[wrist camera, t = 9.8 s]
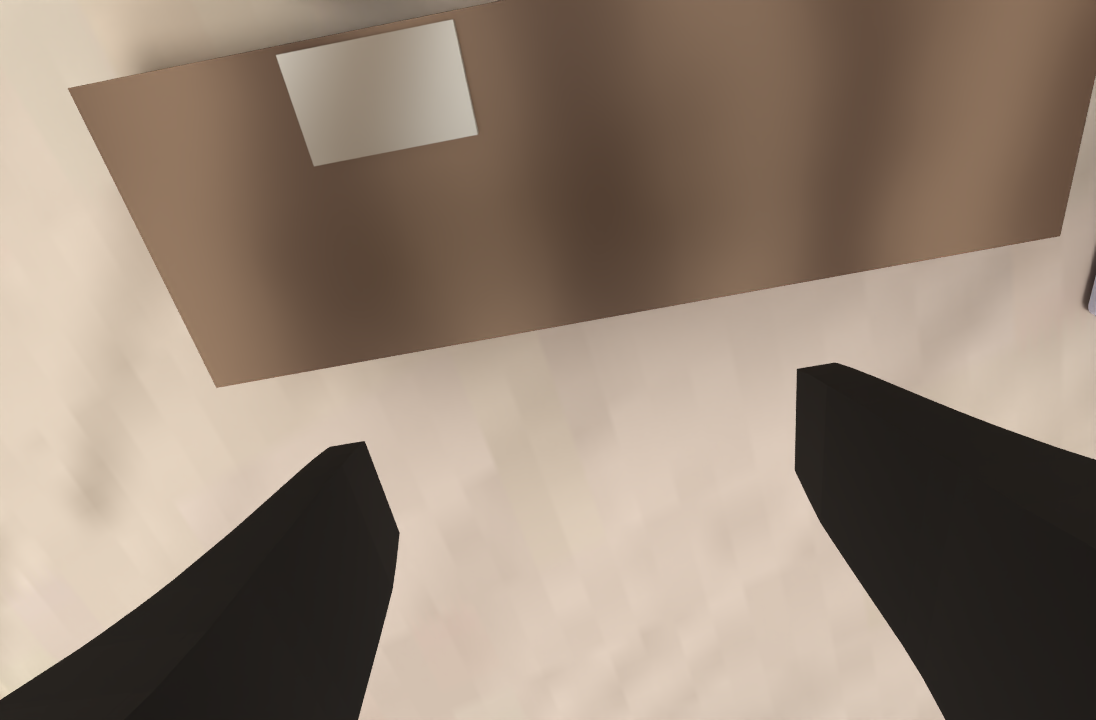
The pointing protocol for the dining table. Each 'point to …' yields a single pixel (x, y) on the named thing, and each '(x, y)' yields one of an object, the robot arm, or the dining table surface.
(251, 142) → the walnut fence board
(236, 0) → the dining table surface
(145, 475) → the dining table surface
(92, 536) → the dining table surface
